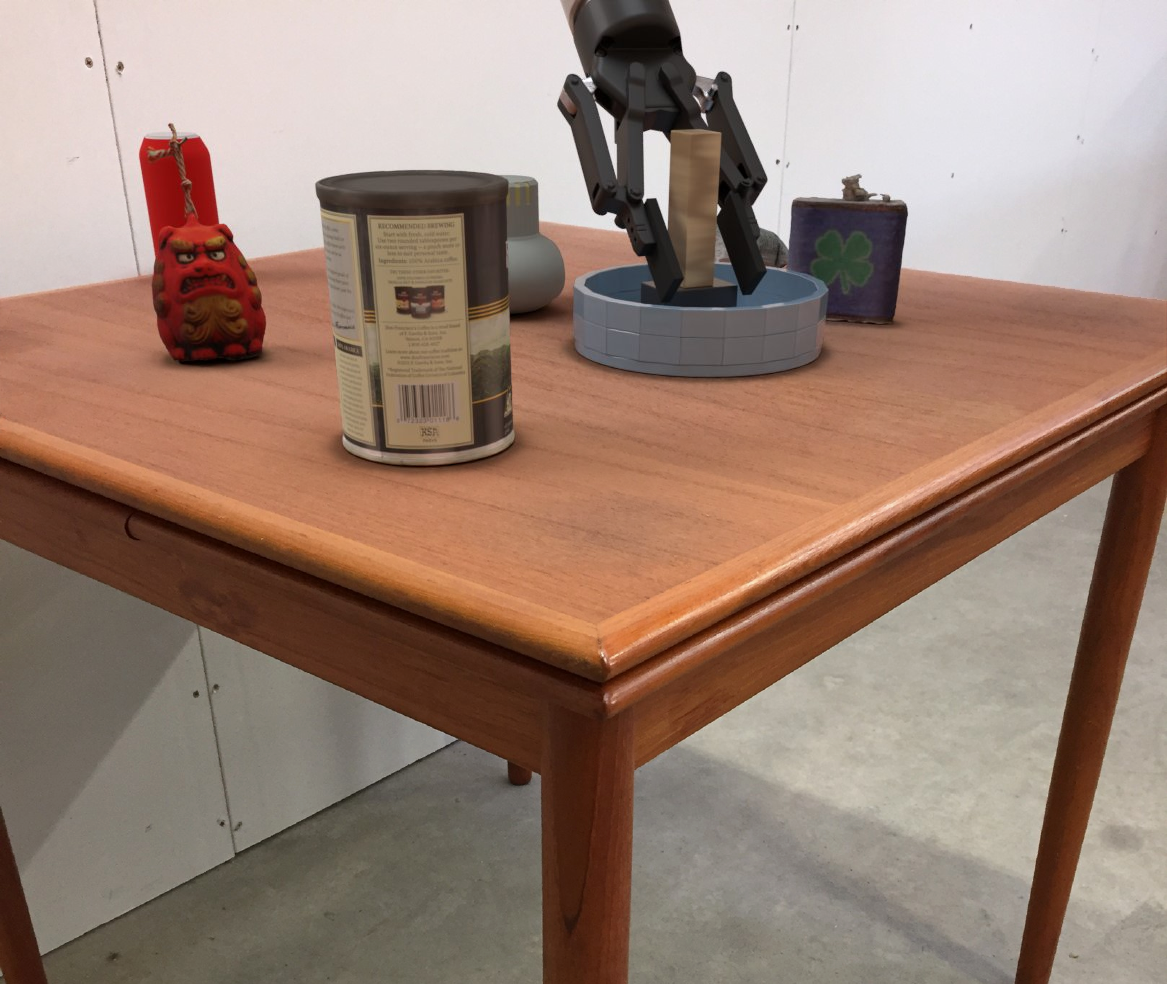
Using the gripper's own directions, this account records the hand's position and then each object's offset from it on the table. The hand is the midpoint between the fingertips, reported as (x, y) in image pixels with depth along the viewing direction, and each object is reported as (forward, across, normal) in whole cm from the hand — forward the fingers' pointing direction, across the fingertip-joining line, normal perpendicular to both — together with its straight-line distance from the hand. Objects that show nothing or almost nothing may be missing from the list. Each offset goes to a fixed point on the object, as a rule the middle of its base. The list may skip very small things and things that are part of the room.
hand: (713, 286), depth 90 cm
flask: (-2, -16, -9) cm, 19 cm away
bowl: (+1, -1, -6) cm, 6 cm away
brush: (0, 0, -5) cm, 5 cm away
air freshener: (-12, +8, -19) cm, 24 cm away
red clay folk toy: (-7, +33, -14) cm, 37 cm away
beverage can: (-30, +29, -37) cm, 56 cm away
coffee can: (+11, +25, +4) cm, 28 cm away
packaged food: (-15, -16, -23) cm, 32 cm away
